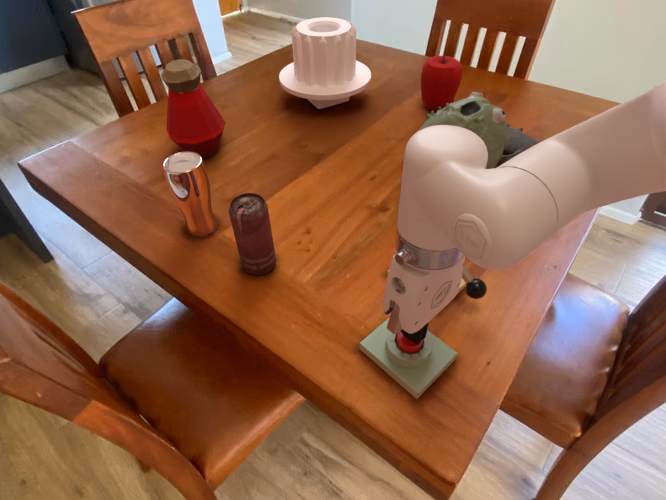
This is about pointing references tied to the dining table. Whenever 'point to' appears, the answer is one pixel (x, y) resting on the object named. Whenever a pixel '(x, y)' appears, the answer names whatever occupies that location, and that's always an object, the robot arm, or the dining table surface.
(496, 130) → the green rock
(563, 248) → the dining table surface
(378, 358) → the grey button base
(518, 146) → the grey toy shark
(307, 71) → the ribbed cylinder on disc
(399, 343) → the console button
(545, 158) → the robot arm
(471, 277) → the switch lever
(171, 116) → the bottle
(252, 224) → the can
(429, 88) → the apple
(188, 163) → the beer glass
